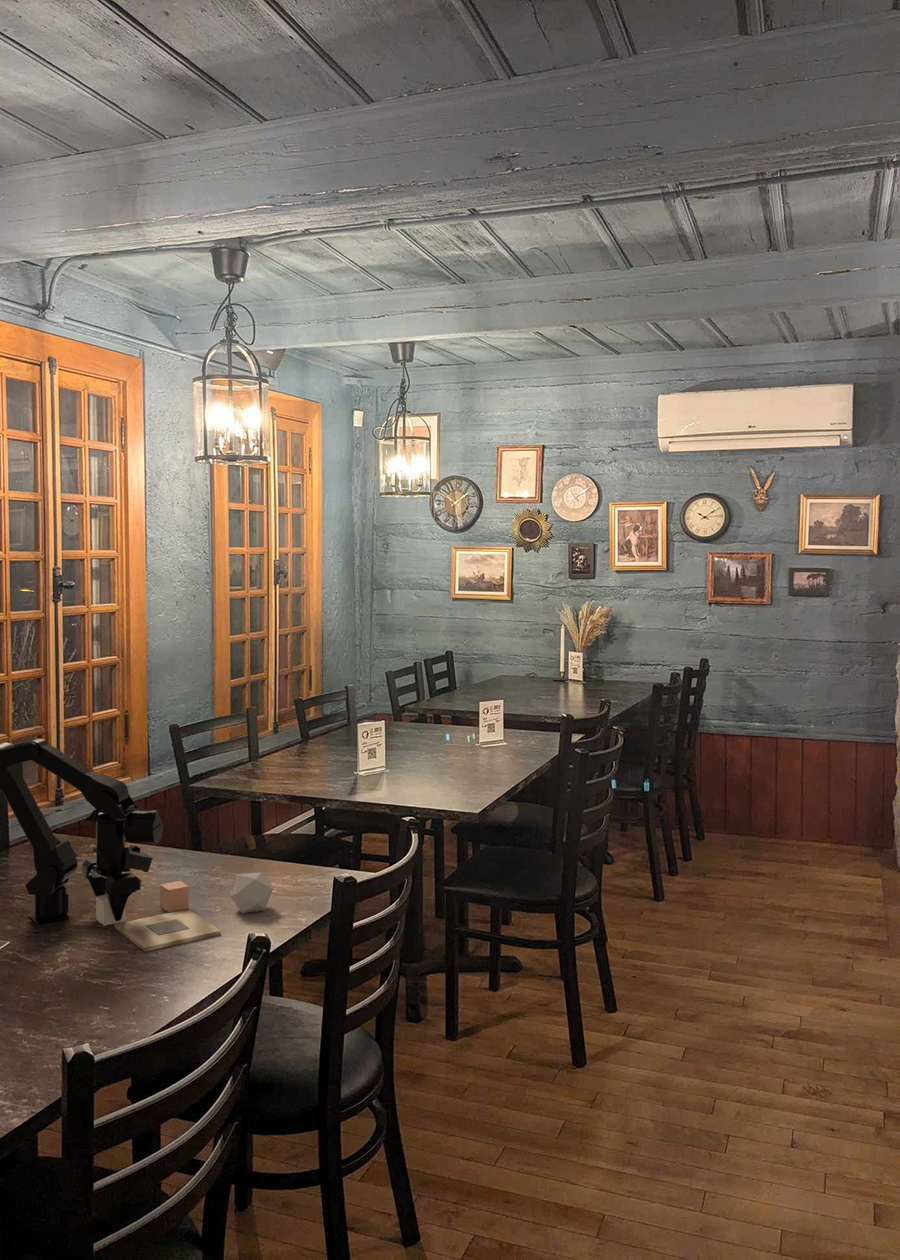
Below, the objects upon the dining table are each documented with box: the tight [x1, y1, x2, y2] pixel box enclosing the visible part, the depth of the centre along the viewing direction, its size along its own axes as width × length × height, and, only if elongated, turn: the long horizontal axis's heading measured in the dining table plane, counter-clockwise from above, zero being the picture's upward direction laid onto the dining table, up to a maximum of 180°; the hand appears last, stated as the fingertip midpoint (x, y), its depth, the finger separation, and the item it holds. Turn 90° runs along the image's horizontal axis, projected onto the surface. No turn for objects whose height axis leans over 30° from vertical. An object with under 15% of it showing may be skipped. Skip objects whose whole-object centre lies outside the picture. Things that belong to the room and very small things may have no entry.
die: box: [229, 871, 274, 914], centre depth 220 cm, size 8×9×10 cm
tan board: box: [114, 908, 222, 952], centre depth 206 cm, size 16×16×1 cm
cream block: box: [95, 895, 127, 926], centre depth 212 cm, size 5×5×5 cm
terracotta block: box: [159, 880, 190, 913], centre depth 221 cm, size 5×5×5 cm
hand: (110, 914), depth 212 cm, fingers open, 8 cm apart
